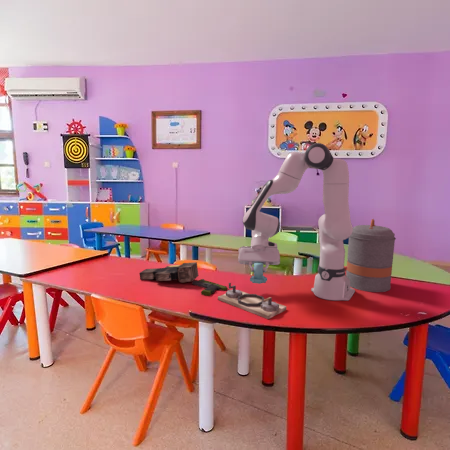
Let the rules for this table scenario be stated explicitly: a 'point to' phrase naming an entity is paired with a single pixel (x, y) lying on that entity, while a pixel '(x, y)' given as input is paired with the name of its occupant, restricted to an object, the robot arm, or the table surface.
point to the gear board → (252, 303)
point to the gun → (208, 286)
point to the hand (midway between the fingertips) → (258, 271)
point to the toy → (172, 273)
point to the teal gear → (258, 274)
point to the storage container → (370, 258)
